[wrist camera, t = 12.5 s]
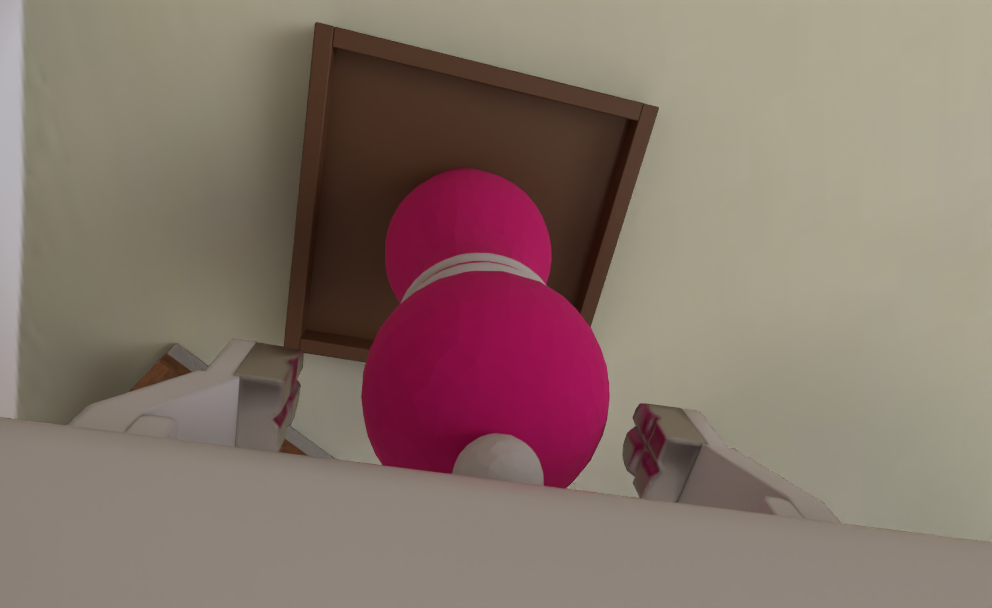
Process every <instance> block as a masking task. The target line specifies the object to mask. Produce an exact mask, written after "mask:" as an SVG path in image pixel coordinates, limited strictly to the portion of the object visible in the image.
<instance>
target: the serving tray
mask: <svg viewBox="0 0 992 608" xmlns="http://www.w3.org/2000/svg"><path fill="white" fill-rule="evenodd" d="M658 110H659V108H658V107H656V106H652V105H648V104H643V103H640V102H636V101H632V100H627V99H623V98H619V97H615V96H611V95H607V94H603V93H599V92H595V91H591V90H587V89H583V88H579V87H575V86H571V85H567V84H563V83H559V82H555V81H551V80H547V79H543V78H539V77H535V76H531V75H527V74H523V73H519V72H515V71H511V70H507V69H503V68H499V67H495V66H491V65H487V64H483V63H479V62H475V61H471V60H467V59H463V58H459V57H455V56H451V55H447V54H443V53H439V52H435V51H431V50H427V49H423V48H419V47H415V46H410V45H406V44H402V43H398V42H394V41H390V40H386V39H382V38H378V37H374V36H370V35H366V34H362V33H358V32H354V31H350V30H346V29H342V28H338V27H333V26H330V25H326V24H322V23H318V22H317V23H315V30H314V40H313V51H312V61H311V71H310V82H309V92H308V102H307V113H306V123H305V133H304V143H303V154H302V164H301V174H300V185H299V195H298V205H297V216H296V226H295V236H294V246H293V257H292V267H291V277H290V288H289V298H288V308H287V319H286V329H285V339H284V347H288V348H294V349H300V350H303V353H309V354H315V355H322V356H328V357H335V358H341V359H347V360H354V361H360V362H366V361H367V358H368V355H369V351H370V348H371V346H372V344H373V342H374V340H375V337H376V335H377V333H378V331H379V329H380V327H381V326H382V325H383V324H384V322H385V321H386V320H387V319H388V317H389V316H390V315H391V314H392V312H393V311H394V310H395V309H396V307H397V306H398V305H400V303H399V301H398V300H397V298H396V296H395V294H394V292H393V290H392V288H391V286H390V283H389V280H388V277H387V273H386V266H385V242H386V236H387V231H388V227H389V225H390V222H391V219H392V217H393V215H394V213H395V211H396V210H397V208H398V206H399V205H400V204H401V202H402V201H403V200H404V199H405V197H406V196H407V195H408V194H409V193H411V192H412V191H413V190H414V189H415V188H416V187H417V186H419V185H420V184H422V183H424V182H425V181H427V180H428V179H430V178H431V177H433V176H435V175H437V174H439V173H441V172H444V171H447V170H450V169H456V168H473V169H478V170H482V171H486V172H488V173H491V174H495V175H497V176H500V177H502V178H504V179H506V180H508V181H510V182H512V183H513V184H515V185H516V186H517V187H519V188H520V189H521V190H523V191H524V192H525V193H526V194H527V195H528V196H529V198H530V199H531V200H532V201H533V202H534V203H535V205H536V206H537V208H538V210H539V211H540V213H541V215H542V217H543V220H544V222H545V225H546V228H547V231H548V233H549V238H550V243H551V258H552V260H551V266H550V273H549V276H548V279H547V282H546V285H547V286H548V287H550V288H551V289H553V290H554V291H556V292H557V293H559V294H560V295H562V296H564V297H565V298H566V299H567V300H568V301H569V302H570V303H571V304H572V305H573V306H574V307H575V308H576V309H577V311H578V312H579V313H580V314H581V316H582V317H583V318H584V320H585V321H586V322H587V324H588V325H589V326H590V327H591V324H592V321H593V317H594V314H595V311H596V308H597V305H598V301H599V298H600V295H601V292H602V289H603V285H604V282H605V279H606V276H607V273H608V269H609V266H610V263H611V260H612V257H613V253H614V250H615V247H616V244H617V241H618V238H619V234H620V231H621V228H622V225H623V222H624V218H625V215H626V212H627V209H628V206H629V202H630V199H631V196H632V193H633V190H634V186H635V183H636V180H637V177H638V174H639V170H640V167H641V164H642V161H643V158H644V154H645V151H646V148H647V145H648V142H649V138H650V135H651V132H652V129H653V126H654V122H655V119H656V116H657V113H658Z"/></svg>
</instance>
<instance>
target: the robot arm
mask: <svg viewBox="0 0 992 608" xmlns="http://www.w3.org/2000/svg"><path fill="white" fill-rule="evenodd" d="M303 358H304V353H303V350H300V349H294V348H288V347H282V346H277V345H271V344H265V343H257V342H256V341H249V340H241V339H232V340H231V341H230V342H229V343H228V344H227V345H226V347H225V348H224V349H223V350H222V351H221V353H220V354H219V355H218V356H217V357H216V359H215V360H214V361H213V362H212V363H211V365H210V366H209V367H208V368H207V370H206V371H199V370H197V371H194V372H191V373H188V374H185V375H182V376H178V377H175V378H172V379H169V380H166V381H163V382H159V383H156V384H153V385H150V386H147V387H144V388H140V389H137V390H134V391H131V392H128V393H125V394H121V395H118V396H115V397H112V398H109V399H106V400H102V401H99V402H96V403H93V404H90V405H88V406H87V407H86V408H85V409H83V410H82V411H81V412H80V413H79V414H78V415H77V416H76V417H75V418H74V419H72V420H71V421H70V422H69V423H68V424H67V425H59V424H51V423H43V422H35V421H27V420H19V419H11V418H3V417H0V608H992V542H987V541H978V540H969V539H961V538H953V537H944V536H937V535H929V534H921V533H913V532H905V531H898V530H890V529H882V528H874V527H866V526H858V525H850V524H842V523H841V522H840V521H839V520H838V518H837V517H836V516H835V515H834V514H833V513H832V512H831V511H830V509H829V508H828V507H827V506H826V505H825V504H824V503H823V502H822V501H820V500H818V499H817V498H815V497H813V496H812V495H810V494H808V493H807V492H805V491H803V490H802V489H800V488H798V487H797V486H795V485H793V484H792V483H790V482H788V481H787V480H785V479H784V478H782V477H780V476H779V475H777V474H775V473H774V472H772V471H770V470H769V469H767V468H765V467H764V466H762V465H760V464H759V463H757V462H755V461H754V460H752V459H750V458H749V457H747V456H745V455H744V454H742V453H741V452H739V451H737V450H736V449H734V448H728V447H727V445H726V444H725V443H724V442H723V440H722V439H721V438H720V436H719V435H718V434H717V432H716V431H715V430H714V429H713V427H712V426H711V425H710V423H709V422H708V421H707V420H706V418H705V417H704V416H703V414H702V413H701V412H699V411H697V410H691V409H681V408H676V407H668V406H661V405H653V404H639V406H638V407H637V408H636V410H635V413H634V416H633V420H634V423H635V427H634V428H633V429H631V430H630V431H629V432H628V433H627V435H626V438H625V441H624V444H623V460H624V464H625V467H626V469H627V471H628V472H630V473H631V474H632V475H633V476H635V479H634V481H633V484H634V486H635V489H636V491H637V493H638V495H639V497H640V498H636V497H628V496H620V495H612V494H604V493H596V492H588V491H580V490H572V489H564V488H556V487H549V486H541V485H533V484H525V483H517V482H509V481H501V480H494V479H486V478H478V477H470V476H462V475H454V474H446V473H439V472H431V471H423V470H415V469H407V468H399V467H391V466H384V465H376V464H368V463H360V462H352V461H344V460H336V459H329V458H321V457H313V456H305V455H297V454H289V453H281V452H279V450H280V448H281V446H282V444H283V442H284V439H285V436H286V428H287V427H288V426H290V425H291V424H292V421H293V419H294V416H295V413H296V409H297V406H298V400H299V395H300V387H301V385H300V383H299V382H298V380H297V379H298V377H299V375H300V372H301V370H302V368H303Z"/></svg>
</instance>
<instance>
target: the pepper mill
mask: <svg viewBox="0 0 992 608" xmlns="http://www.w3.org/2000/svg"><path fill="white" fill-rule="evenodd" d="M551 260H552V258H551V243H550V238H549V233H548V231H547V228H546V225H545V222H544V220H543V217H542V215H541V213H540V211H539V210H538V208H537V206H536V205H535V203H534V202H533V201H532V200H531V199H530V198H529V196H528V195H527V194H526V193H525V192H524V191H523V190H521V189H520V188H519V187H517V186H516V185H515V184H513V183H512V182H510V181H508V180H506V179H504V178H502V177H500V176H497V175H495V174H491V173H488V172H486V171H482V170H478V169H473V168H456V169H450V170H447V171H444V172H441V173H439V174H437V175H435V176H433V177H431V178H430V179H428V180H427V181H425V182H424V183H422V184H420V185H419V186H417V187H416V188H415V189H414V190H413V191H412V192H411V193H409V194H408V195H407V196H406V197H405V199H404V200H403V201H402V202H401V204H400V205H399V206H398V208H397V210H396V211H395V213H394V215H393V217H392V219H391V222H390V225H389V227H388V231H387V236H386V242H385V266H386V273H387V277H388V280H389V283H390V286H391V288H392V290H393V292H394V294H395V296H396V298H397V300H398V301H399V303H400V305H398V306H397V307H396V309H395V310H394V311H393V312H392V314H391V315H390V316H389V317H388V319H387V320H386V321H385V322H384V324H383V325H382V326H381V327H380V329H379V331H378V333H377V335H376V337H375V340H374V342H373V344H372V346H371V348H370V351H369V355H368V358H367V361H366V365H365V368H364V372H363V384H362V396H361V397H362V407H363V415H364V420H365V425H366V430H367V434H368V437H369V440H370V442H371V445H372V447H373V449H374V452H375V454H376V456H377V457H378V459H379V460H380V462H381V463H382V465H384V466H391V467H399V468H407V469H415V470H423V471H431V472H439V473H446V474H454V475H462V476H470V477H478V478H486V479H494V480H501V481H509V482H517V483H525V484H533V485H541V486H549V487H556V488H564V489H565V488H566V487H568V486H569V485H570V484H571V483H572V482H573V481H574V480H575V479H576V478H577V476H578V475H579V474H580V473H581V472H582V470H583V469H584V468H585V467H586V465H587V464H588V463H589V462H590V460H591V458H592V456H593V454H594V452H595V450H596V448H597V446H598V444H599V442H600V440H601V438H602V436H603V432H604V429H605V425H606V421H607V415H608V407H609V380H608V373H607V366H606V363H605V360H604V357H603V354H602V351H601V348H600V346H599V344H598V342H597V340H596V338H595V336H594V333H593V331H592V329H591V327H590V326H589V325H588V324H587V322H586V321H585V320H584V318H583V317H582V316H581V314H580V313H579V312H578V311H577V309H576V308H575V307H574V306H573V305H572V304H571V303H570V302H569V301H568V300H567V299H566V298H565V297H564V296H562V295H560V294H559V293H557V292H556V291H554V290H553V289H551V288H550V287H548V286H547V285H546V282H547V279H548V276H549V273H550V266H551Z"/></svg>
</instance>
